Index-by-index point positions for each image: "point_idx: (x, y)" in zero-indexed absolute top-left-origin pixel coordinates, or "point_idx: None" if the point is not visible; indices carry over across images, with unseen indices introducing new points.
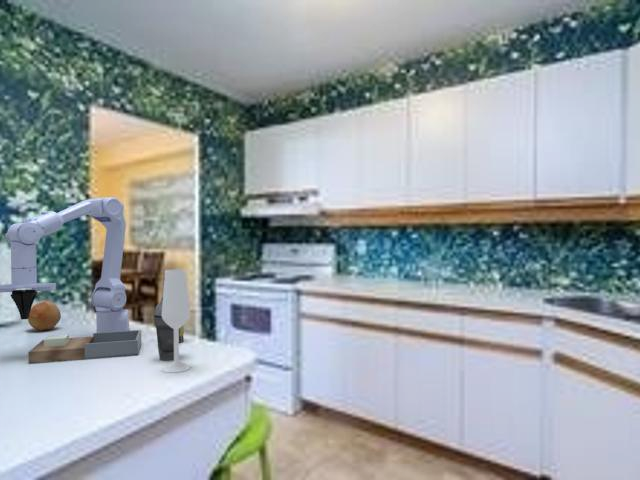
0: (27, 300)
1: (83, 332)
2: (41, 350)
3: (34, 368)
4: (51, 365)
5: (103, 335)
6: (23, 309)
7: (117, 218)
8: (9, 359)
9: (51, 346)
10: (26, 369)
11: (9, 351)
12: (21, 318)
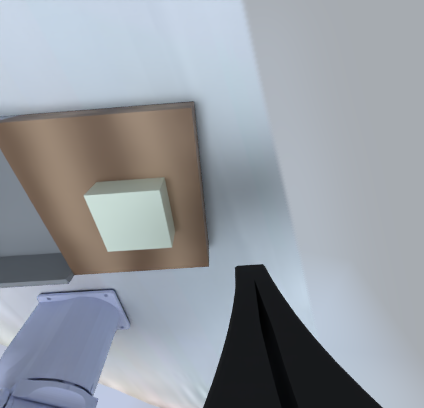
0: (236, 394)
1: (179, 352)
2: (148, 122)
3: (143, 16)
4: (98, 51)
5: (42, 274)
6: (264, 322)
7: None
8: (270, 174)
9: (141, 179)
10: (168, 6)
11: (290, 252)
12: (262, 267)
